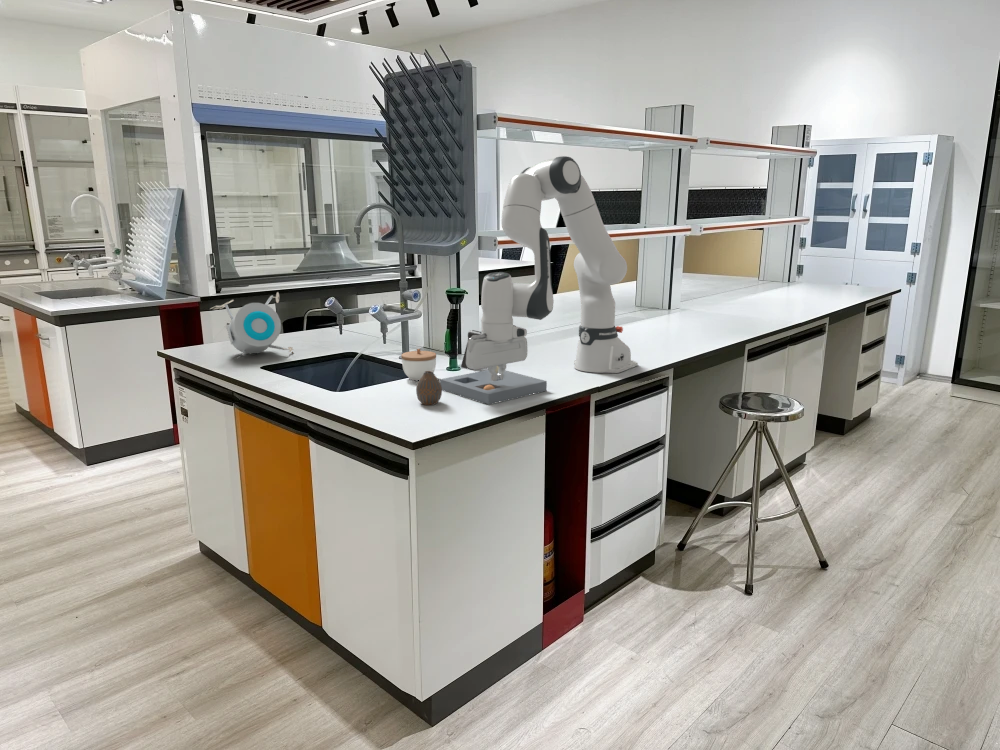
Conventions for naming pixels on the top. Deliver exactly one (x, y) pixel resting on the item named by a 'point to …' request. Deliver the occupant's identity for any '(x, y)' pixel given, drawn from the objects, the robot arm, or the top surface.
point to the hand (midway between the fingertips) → (497, 380)
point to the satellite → (254, 327)
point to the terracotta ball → (488, 387)
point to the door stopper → (467, 346)
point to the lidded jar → (418, 363)
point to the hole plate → (504, 389)
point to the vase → (429, 389)
